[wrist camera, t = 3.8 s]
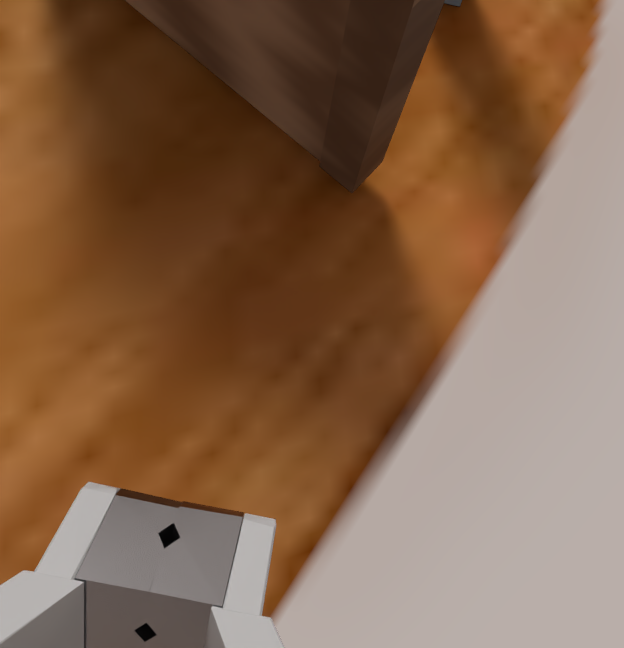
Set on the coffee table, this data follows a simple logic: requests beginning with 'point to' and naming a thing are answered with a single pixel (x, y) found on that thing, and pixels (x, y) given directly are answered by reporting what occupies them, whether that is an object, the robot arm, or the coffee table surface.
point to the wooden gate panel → (311, 66)
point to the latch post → (453, 2)
